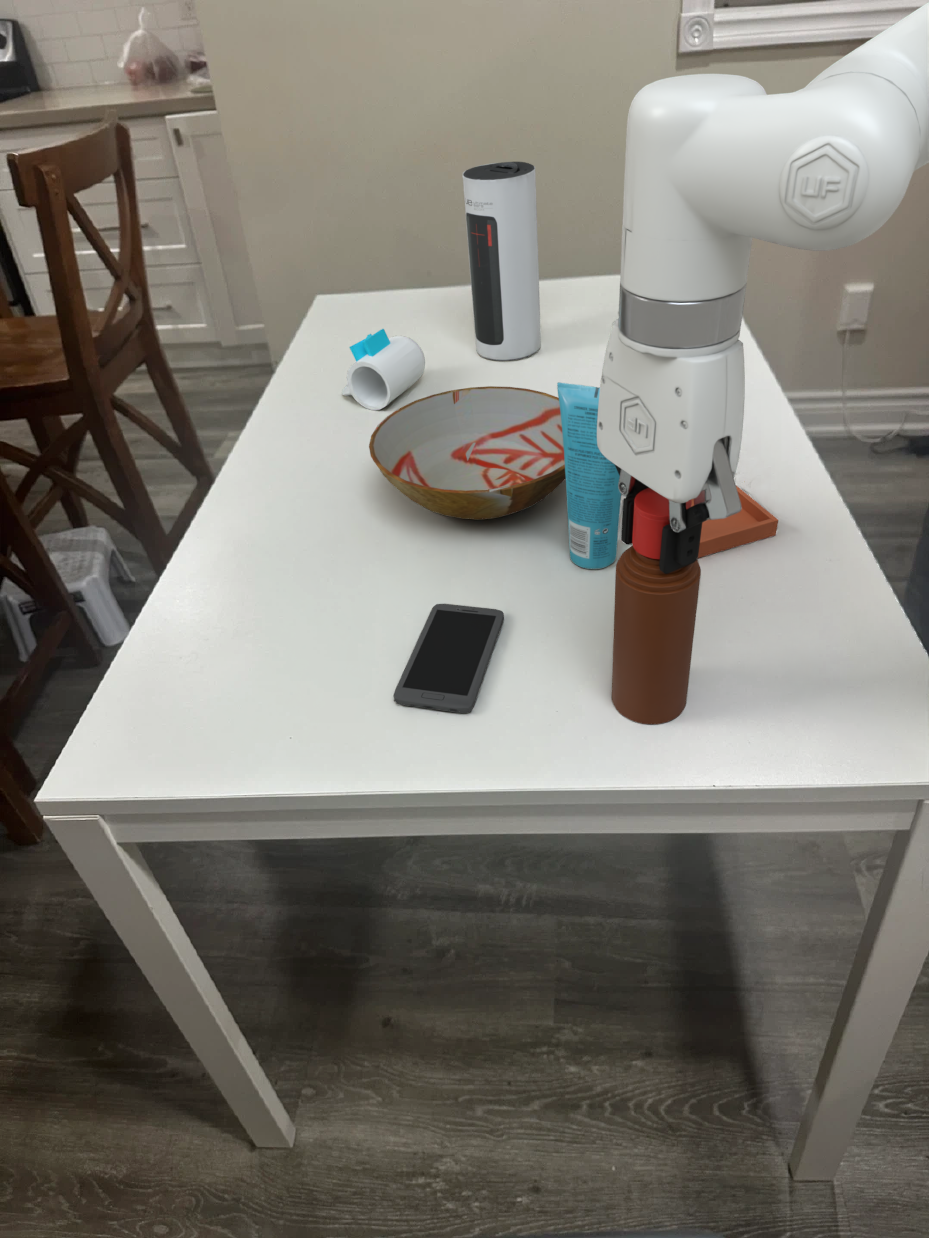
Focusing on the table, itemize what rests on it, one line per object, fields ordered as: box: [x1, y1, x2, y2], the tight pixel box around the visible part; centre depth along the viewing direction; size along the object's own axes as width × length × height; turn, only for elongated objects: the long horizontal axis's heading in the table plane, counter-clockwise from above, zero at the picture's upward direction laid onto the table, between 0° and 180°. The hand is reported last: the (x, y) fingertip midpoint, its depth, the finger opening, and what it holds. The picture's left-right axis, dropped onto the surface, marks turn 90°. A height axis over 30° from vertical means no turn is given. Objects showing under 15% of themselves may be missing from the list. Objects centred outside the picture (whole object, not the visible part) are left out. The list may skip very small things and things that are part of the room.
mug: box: [341, 328, 426, 411], centre depth 126 cm, size 12×9×12 cm
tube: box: [556, 381, 622, 570], centre depth 86 cm, size 7×5×19 cm, turn 71°
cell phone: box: [393, 603, 505, 714], centre depth 81 cm, size 7×14×1 cm, turn 165°
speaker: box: [462, 161, 542, 362], centre depth 128 cm, size 11×10×26 cm
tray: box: [691, 485, 779, 559], centre depth 94 cm, size 12×10×2 cm
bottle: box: [610, 544, 702, 725], centre depth 69 cm, size 6×6×20 cm
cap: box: [631, 488, 692, 559], centre depth 64 cm, size 4×4×4 cm
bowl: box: [368, 385, 566, 521], centre depth 101 cm, size 25×25×8 cm
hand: (658, 549), depth 65 cm, fingers closed on cap, 3 cm apart
